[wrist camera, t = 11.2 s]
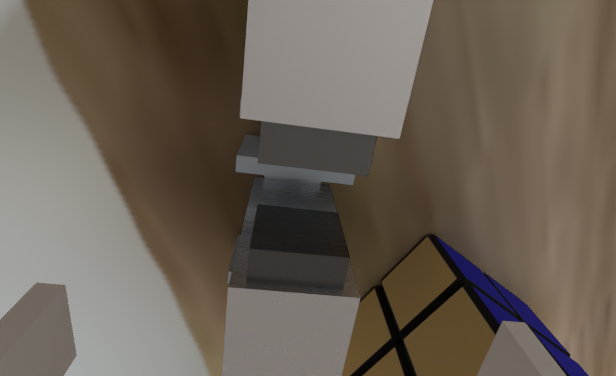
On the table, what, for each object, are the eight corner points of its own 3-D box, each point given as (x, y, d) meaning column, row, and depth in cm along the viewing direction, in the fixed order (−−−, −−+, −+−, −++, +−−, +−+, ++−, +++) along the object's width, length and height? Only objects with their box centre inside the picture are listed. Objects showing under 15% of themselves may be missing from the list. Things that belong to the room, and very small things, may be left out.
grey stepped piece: (261, -67, 17) (218, -222, 6) (380, -46, 17) (513, -158, 7) (235, 264, 23) (195, 439, 13) (321, 271, 24) (345, 446, 14)
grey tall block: (256, 154, 19) (230, 252, 10) (333, 163, 19) (368, 265, 11) (248, 242, 21) (221, 383, 12) (318, 248, 21) (337, 390, 13)
